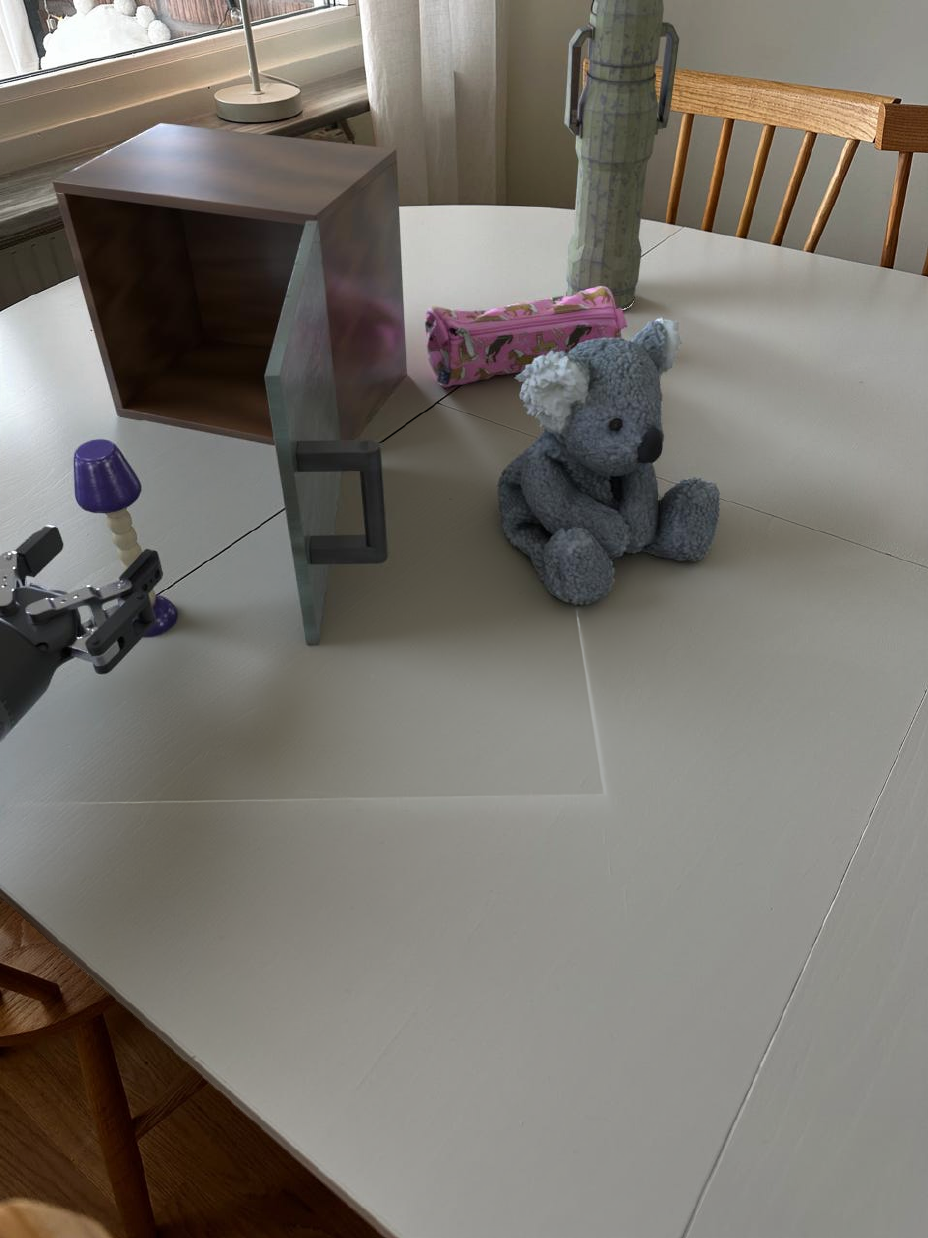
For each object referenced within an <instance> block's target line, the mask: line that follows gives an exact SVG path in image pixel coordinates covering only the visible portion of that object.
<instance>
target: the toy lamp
mask: <svg viewBox="0 0 928 1238" xmlns="http://www.w3.org/2000/svg"><path fill="white" fill-rule="evenodd" d="M73 481H74V482H73V483H74V484H73V486H74V497H75V501H76V504H77V505H78V506H79V507H80V508H81V509H82V510H84V511H85V512H89V513H92V514H104V515H105V516H106V521H105V522H106V525H107V527H108V528H109V531H111V538H112V542H113V544H114V546H115V547H116V554H117V557H118V559H119V561H120V562H121V569H122V572H123V573H124V572H125V570H126V569H127V568H128V567H129V566H130V565H131V564H132V563H133V562H134V561H135V560H136V559H137V558H138V557H139V555H140V554H141V553H142V552H143V549H142V547H141V545H140V544H139V542H138V534H137V532H136V529H135V528H134V527H133V518H132V515H131V513H130V511H128V507H130V506H132V505H133V504H134V503H135V502H136V501H137V500H138V499H139V497H140V496H141V493H142V491H143V490H142V482H141V480H140V479H139V477H138V475H137V474H136V472H135V470H134V469H133V468H132V466H131V464H130V463H129V461H128V460H127V459H126V457H125V456H124V454H123V453H122V451H121V450H120V448H119V447H118V446H117V445H116V444H115V443H114V442H113V441H112V440H108V439H104V438H99V439H98V438H97V439H91V440H88V441H86V442H83V443H82V444H80V445H79V446H78V447H77V448H76V449H75V451H74V453H73ZM149 597H150V601H151V604H152V607H153V611H154V614H155V618H156V624H155V625H154V626H153V627H152V628H151V629H150V630H149V631H148V632H147V633H146V635H145V636H144V637H143V638H152V637H157V636H160V635H162V634H165V633H166V632H168V631H170V629H172V628H173V627H174V626H175V625H176V624H177V621H178V618H179V612H178V610H177V608H176V607H175V605H174V603H173V602H172V601H171V600H170V599H168V598H167V597H165V596H163V595H159V594H156V593H155V589H154V588H153V589H152V590H151V591H150V593H149ZM134 620H135V619H133V621H134Z"/></svg>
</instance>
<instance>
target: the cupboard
mask: <svg viewBox="0 0 928 1238" xmlns="http://www.w3.org/2000/svg"><path fill="white" fill-rule="evenodd" d="M397 156H398V155H397V149H396V148H392V147H383V146H382V147H380V146H372V145H364V144H354V143H347V142H345V143H344V142H335V141H327V140H316V139H308V138H299V137H291V136H290V137H289V136H283V135H282V136H281V135H272V134H263V133H254V132H245V131H236V130H227V129H219V128H218V129H217V128H209V127H201V126H200V127H199V126H191V125H190V126H189V125H180V124H172V123H163V122H161V123H160V122H159V123H158V124H156V125H155V126H153V127H151V128H149V129H147V130H145V131H143V132H142V133H139V134H137V135H135V136H134V137H132V138H130V139H128V140H126V141H124V142H122V143H120V144H119V145H117V146H115V147H113V148H111V149H110V150H107V151H106V152H104V153H102V154H100V155H98V156H96V157H95V158H92V159H91V160H89V161H87V162H85V163H83V164H82V165H79V166H78V167H76V168H74V169H72V170H70V171H69V172H66V173H65V174H63V175H61V176H59V177H57V178H55V179H54V180H52V181H51V182H52V186H53V189H54V192H55V196H56V200H57V203H58V207H59V211H60V215H61V218H62V222H63V225H64V229H65V232H66V236H67V240H68V243H69V246H70V251H71V254H72V258H73V261H74V264H75V268H76V271H77V275H78V279H79V282H80V286H81V289H82V293H83V297H84V301H85V305H86V308H87V311H88V315H89V319H90V322H91V326H92V329H93V330H92V331H93V333H94V336H95V340H96V345H97V347H98V352H99V355H100V358H101V362H102V366H103V369H104V372H105V376H106V380H107V384H108V387H109V390H110V395H111V399H112V401H113V405H114V408H115V413H116V416H118V417H123V418H127V419H133V420H138V421H144V422H150V423H156V424H161V425H167V426H172V427H177V428H180V429H181V428H182V429H185V430H186V429H187V430H192V431H197V432H202V433H206V434H212V435H216V436H222V437H228V438H232V439H238V440H242V441H246V442H247V441H248V442H254V443H259V444H263V445H267V446H273V447H275V441H274V434H273V428H272V422H271V415H270V409H269V402H268V396H267V390H266V383H265V377H264V376H265V372H266V368H267V365H268V361H269V357H270V354H271V350H272V346H273V342H274V339H275V335H276V331H277V327H278V324H279V320H280V316H281V313H282V309H283V305H284V301H285V298H286V294H287V290H288V287H289V283H290V279H291V275H292V272H293V268H294V264H295V260H296V257H297V253H298V249H299V246H300V242H301V238H302V234H303V231H304V227H305V223H306V221H318V226H319V236H320V245H321V255H322V265H323V275H324V284H325V294H326V304H327V313H328V323H329V333H330V342H331V352H332V362H333V371H334V381H335V391H336V400H337V410H338V420H339V429H340V439H341V440H358V438H359V437H360V435H361V434H362V433H363V432H364V430H365V429H366V428H367V426H368V425H369V424H370V423H371V421H372V420H373V419H374V418H375V417H376V415H377V414H378V413H379V411H380V410H381V408H382V407H383V406H384V405H385V404H386V402H387V401H388V400H389V399H390V397H391V396H392V395H393V393H394V392H395V391H396V389H397V388H398V387H399V386H400V384H401V383H402V382H403V380H404V379H405V378H406V376H407V375H408V370H407V369H408V365H407V347H406V345H407V343H406V325H405V324H406V323H405V322H406V321H405V304H404V303H405V302H404V283H403V282H404V281H403V280H404V279H403V262H402V261H403V260H402V242H401V241H402V239H401V219H400V218H401V217H400V197H399V196H400V195H399V177H398V176H399V175H398V159H397V158H398V157H397Z"/></svg>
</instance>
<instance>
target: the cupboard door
mask: <svg viewBox="0 0 928 1238" xmlns="http://www.w3.org/2000/svg"><path fill="white" fill-rule="evenodd" d="M264 377H265V383H266V390H267V396H268V402H269V409H270V415H271V422H272V428H273V434H274V441H275V446H274V447H275V454H276V458H277V460H276V461H277V465H278V472H279V476H280V477H279V478H280V485H281V492H282V498H283V504H284V511H285V516H286V517H285V518H286V524H287V530H288V536H289V543H290V548H291V549H290V550H291V554H292V561H293V568H294V574H295V581H296V587H297V588H296V589H297V593H298V600H299V606H300V612H301V618H302V619H301V620H302V624H303V631H304V639H305V644H306V645H307V646H317V645H320V638H321V632H322V631H321V630H322V624H323V617H324V616H323V614H324V609H325V600H326V594H327V585H328V577H329V571H330V565H371V564H372V565H373V564H374V565H375V564H382V563H385V562H386V561H387V560H388V558H389V545H388V533H387V519H386V518H387V517H386V506H385V505H386V503H385V492H384V478H383V463H382V449H381V444H380V442H378V441H377V440H374V439H356V440H341V439H340V429H339V420H338V410H337V400H336V391H335V381H334V371H333V362H332V352H331V342H330V333H329V323H328V313H327V304H326V294H325V284H324V275H323V265H322V255H321V245H320V236H319V226H318V221H306V223H305V227H304V231H303V234H302V238H301V242H300V246H299V249H298V253H297V257H296V260H295V264H294V268H293V272H292V275H291V279H290V283H289V287H288V290H287V294H286V298H285V301H284V305H283V309H282V313H281V316H280V320H279V324H278V327H277V331H276V335H275V339H274V342H273V346H272V350H271V354H270V357H269V361H268V365H267V368H266V372H265V376H264ZM343 472H359V479H360V491H361V502H362V515H363V521H364V522H363V524H364V534H347V535H346V534H337V535H336V534H334V532H335V525H336V516H337V511H338V501H339V493H340V487H341V480H342V473H343Z"/></svg>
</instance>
